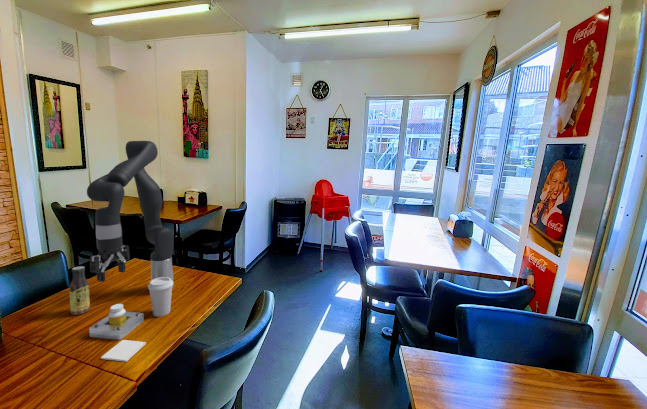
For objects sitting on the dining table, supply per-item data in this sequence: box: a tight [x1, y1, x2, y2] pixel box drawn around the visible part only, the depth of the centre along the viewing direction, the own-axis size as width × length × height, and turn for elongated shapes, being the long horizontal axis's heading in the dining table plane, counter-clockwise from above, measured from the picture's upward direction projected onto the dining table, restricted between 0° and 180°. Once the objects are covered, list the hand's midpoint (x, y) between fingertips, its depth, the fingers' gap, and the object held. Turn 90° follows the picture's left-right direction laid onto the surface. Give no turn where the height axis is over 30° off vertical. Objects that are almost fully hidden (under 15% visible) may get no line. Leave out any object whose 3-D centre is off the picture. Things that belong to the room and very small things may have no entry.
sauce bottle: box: [68, 265, 91, 316], centre depth 112 cm, size 6×6×20 cm
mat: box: [100, 339, 147, 363], centre depth 93 cm, size 9×9×1 cm
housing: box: [88, 311, 145, 341], centre depth 104 cm, size 12×12×4 cm
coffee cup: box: [147, 277, 174, 318], centre depth 116 cm, size 10×10×15 cm
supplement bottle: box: [108, 303, 127, 326], centre depth 104 cm, size 5×5×10 cm
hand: (112, 276), depth 101 cm, fingers open, 8 cm apart
